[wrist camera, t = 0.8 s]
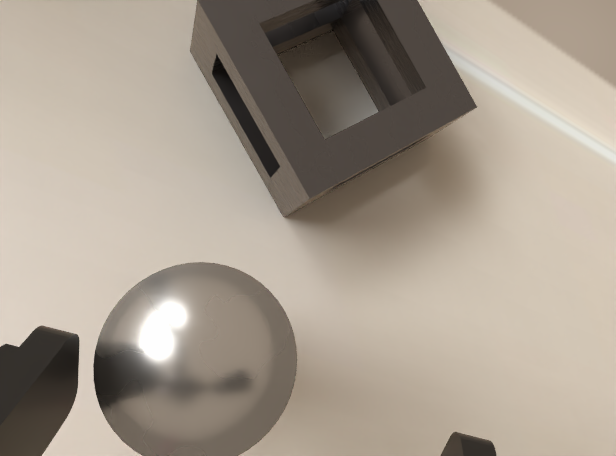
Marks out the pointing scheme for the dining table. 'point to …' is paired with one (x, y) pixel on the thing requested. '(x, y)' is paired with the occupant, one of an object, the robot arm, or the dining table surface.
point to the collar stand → (290, 107)
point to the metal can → (195, 362)
